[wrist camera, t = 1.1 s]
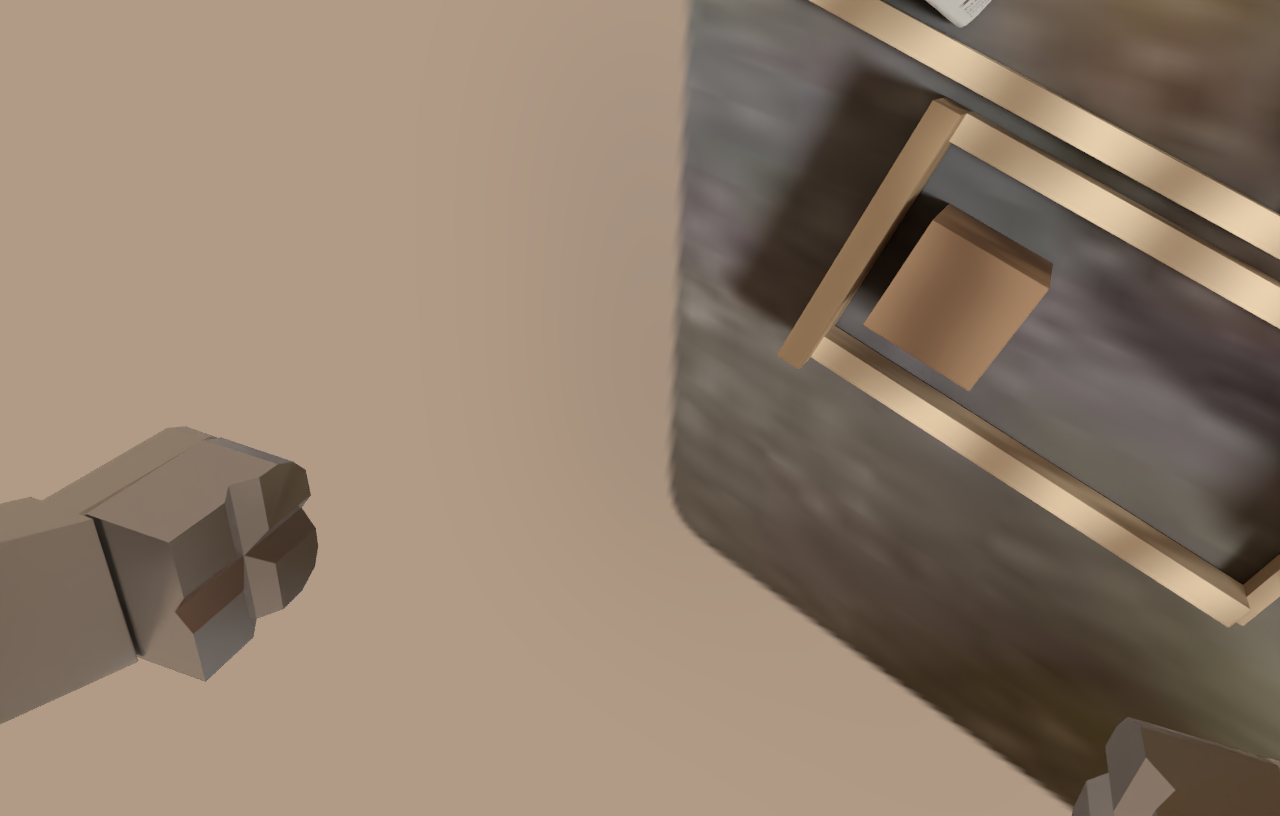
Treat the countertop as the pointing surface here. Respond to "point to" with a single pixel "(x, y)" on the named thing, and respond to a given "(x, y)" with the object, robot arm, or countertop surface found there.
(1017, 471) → the frame
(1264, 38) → the countertop surface
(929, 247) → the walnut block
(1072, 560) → the countertop surface
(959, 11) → the skincare box
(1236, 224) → the frame
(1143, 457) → the countertop surface
